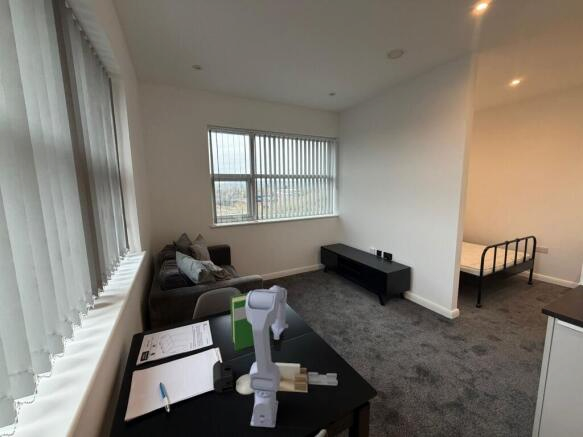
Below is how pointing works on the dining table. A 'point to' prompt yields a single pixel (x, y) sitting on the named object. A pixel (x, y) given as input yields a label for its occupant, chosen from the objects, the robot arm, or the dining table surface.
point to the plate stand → (322, 379)
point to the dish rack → (295, 382)
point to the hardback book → (241, 323)
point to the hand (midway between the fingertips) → (278, 344)
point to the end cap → (222, 376)
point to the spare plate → (243, 385)
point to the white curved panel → (288, 370)
